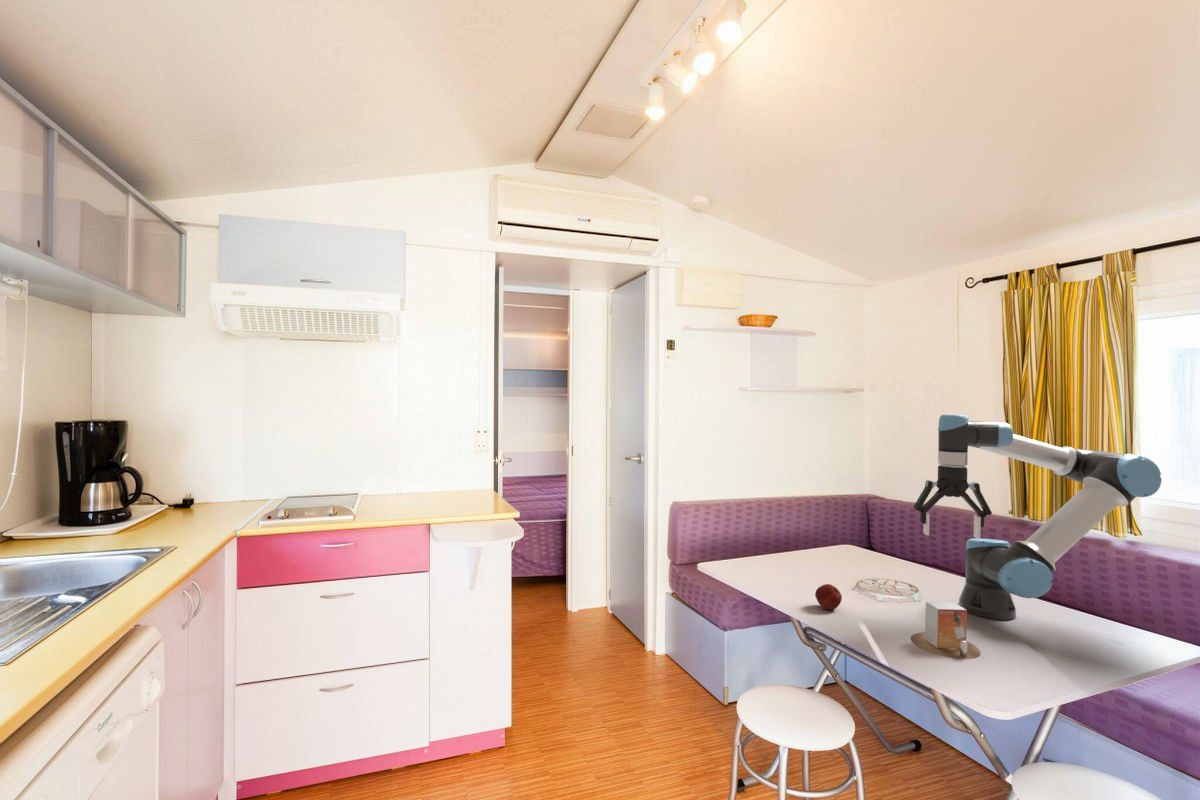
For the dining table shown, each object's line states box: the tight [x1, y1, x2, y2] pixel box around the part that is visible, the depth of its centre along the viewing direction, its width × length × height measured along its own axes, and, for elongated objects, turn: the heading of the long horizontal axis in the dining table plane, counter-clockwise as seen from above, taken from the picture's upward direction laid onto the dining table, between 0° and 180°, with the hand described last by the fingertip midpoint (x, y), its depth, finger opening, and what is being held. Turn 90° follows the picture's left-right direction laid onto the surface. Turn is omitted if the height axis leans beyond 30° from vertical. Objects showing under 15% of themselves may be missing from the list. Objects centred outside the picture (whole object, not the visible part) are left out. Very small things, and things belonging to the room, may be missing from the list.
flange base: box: [910, 631, 982, 660], centre depth 148 cm, size 16×16×2 cm
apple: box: [814, 583, 843, 611], centre depth 176 cm, size 7×8×8 cm
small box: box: [924, 601, 968, 649], centre depth 148 cm, size 8×6×10 cm
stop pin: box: [960, 639, 968, 658], centre depth 141 cm, size 2×2×4 cm
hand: (951, 536), depth 165 cm, fingers open, 13 cm apart
